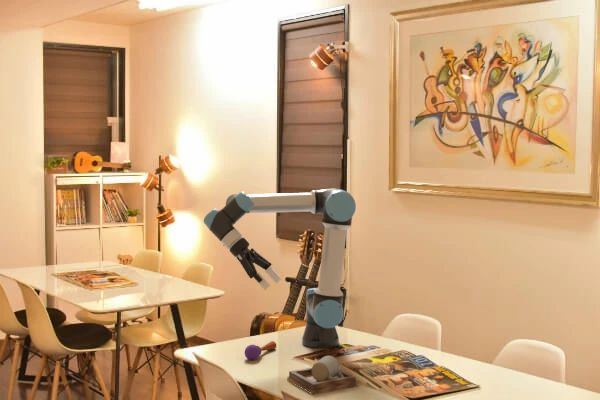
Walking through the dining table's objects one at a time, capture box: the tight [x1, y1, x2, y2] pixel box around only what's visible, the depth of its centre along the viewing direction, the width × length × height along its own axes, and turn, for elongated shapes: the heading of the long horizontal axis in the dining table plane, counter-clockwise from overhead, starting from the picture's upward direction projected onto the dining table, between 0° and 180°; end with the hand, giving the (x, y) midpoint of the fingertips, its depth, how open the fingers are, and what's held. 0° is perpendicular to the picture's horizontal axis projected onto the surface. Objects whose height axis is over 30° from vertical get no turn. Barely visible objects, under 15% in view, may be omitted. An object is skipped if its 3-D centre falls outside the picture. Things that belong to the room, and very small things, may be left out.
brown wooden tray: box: [286, 367, 359, 395], centre depth 288 cm, size 18×18×3 cm
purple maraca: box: [244, 340, 277, 361], centre depth 324 cm, size 6×6×20 cm
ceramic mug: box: [311, 355, 344, 382], centre depth 287 cm, size 11×8×8 cm
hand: (273, 284), depth 313 cm, fingers open, 13 cm apart
